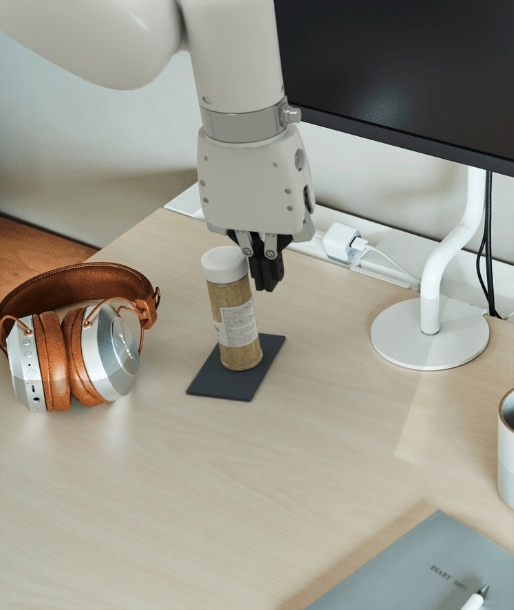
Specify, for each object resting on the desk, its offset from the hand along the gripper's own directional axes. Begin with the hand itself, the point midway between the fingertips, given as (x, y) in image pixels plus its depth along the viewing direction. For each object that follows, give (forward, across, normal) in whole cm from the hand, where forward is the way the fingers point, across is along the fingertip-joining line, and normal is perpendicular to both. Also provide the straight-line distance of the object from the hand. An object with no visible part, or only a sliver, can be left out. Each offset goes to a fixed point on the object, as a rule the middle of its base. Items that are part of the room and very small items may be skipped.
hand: (269, 283), depth 94 cm
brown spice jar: (+11, +4, 0) cm, 12 cm away
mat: (+11, +5, 0) cm, 12 cm away
